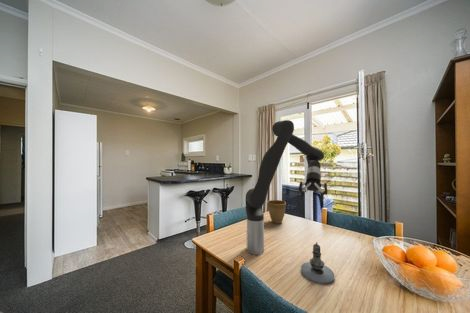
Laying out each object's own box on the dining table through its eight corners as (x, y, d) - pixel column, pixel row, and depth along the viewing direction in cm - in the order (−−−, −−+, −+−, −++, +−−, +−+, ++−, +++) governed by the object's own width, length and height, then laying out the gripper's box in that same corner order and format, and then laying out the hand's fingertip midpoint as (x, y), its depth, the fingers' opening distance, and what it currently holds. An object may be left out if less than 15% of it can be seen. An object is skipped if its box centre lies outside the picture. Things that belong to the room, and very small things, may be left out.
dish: (308, 284, 68) (308, 281, 68) (296, 264, 81) (296, 262, 81) (341, 283, 68) (341, 280, 68) (323, 264, 81) (323, 261, 81)
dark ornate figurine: (317, 276, 71) (317, 246, 71) (306, 268, 76) (306, 240, 77) (327, 272, 73) (327, 244, 73) (316, 265, 79) (316, 238, 79)
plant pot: (271, 217, 148) (271, 199, 148) (289, 221, 139) (288, 201, 140) (264, 223, 136) (263, 202, 136) (282, 227, 127) (282, 205, 128)
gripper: (299, 171, 102) (296, 194, 91) (327, 171, 95) (327, 196, 85) (301, 179, 106) (298, 201, 96) (327, 180, 99) (327, 205, 89)
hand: (312, 199), depth 90 cm, fingers open, 8 cm apart
